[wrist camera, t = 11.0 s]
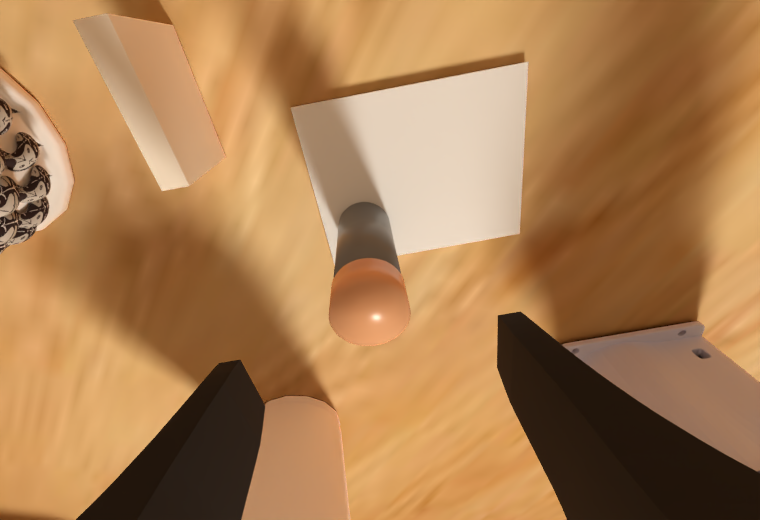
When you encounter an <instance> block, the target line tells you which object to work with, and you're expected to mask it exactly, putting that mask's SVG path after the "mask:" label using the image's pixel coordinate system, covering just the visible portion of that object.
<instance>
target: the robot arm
mask: <svg viewBox="0 0 760 520" xmlns="http://www.w3.org/2000/svg"><path fill="white" fill-rule="evenodd" d="M704 328H705V326H704V325H703V324H702V323H700V322H698V321H694V322H688V323H682V324H676V325H670V326H665V327H659V328H653V329H647V330H641V331H635V332H629V333H623V334H617V335H611V336H605V337H600V338H594V339H588V340H582V341H576V342H570V343H565V344H562V345H561V344H560V343H559V342H557V341H556V340H555V339H554V338H552V337H551V336H550V335H549V334H548V333H546V332H545V331H544V330H543V329H541V328H540V327H539V326H538V325H537V324H535V323H534V322H533V321H532V320H530V319H529V318H528V317H527V316H526V315H524V314H523V313H522V312H516V313H510V314H504V315H498V348H497V368H498V371H499V374H500V376H501V379H502V382H503V385H504V387H505V390H506V393H507V395H508V398H509V400H510V403H511V405H512V407H513V409H514V411H515V413H516V415H517V417H518V419H519V421H520V423H521V425H522V427H523V429H524V431H525V433H526V435H527V437H528V439H529V441H530V443H531V445H532V447H533V449H534V451H535V453H536V455H537V457H538V459H539V461H540V463H541V465H542V467H543V469H544V471H545V473H546V475H547V477H548V479H549V481H550V483H551V485H552V487H553V489H554V491H555V493H556V495H557V497H558V500H559V502H560V504H561V506H562V508H563V511H564V513H565V515H566V518H567V520H760V382H759V381H757V380H756V379H755V378H754V377H752V376H751V375H750V374H749V373H747V372H746V371H745V370H744V369H742V368H741V367H740V366H739V365H737V364H736V363H735V362H734V361H732V360H731V359H730V358H729V357H727V356H726V355H725V354H724V353H722V352H721V351H720V350H719V349H717V348H716V347H715V346H714V345H712V344H711V343H710V342H709V341H707V340H706V339H705V338H704V337H702V333H703V331H704ZM264 413H265V404H264V403H263V401H262V399H261V397H260V395H259V393H258V392H257V390H256V388H255V386H254V384H253V382H252V381H251V379H250V377H249V375H248V373H247V371H246V369H245V368H244V366H243V364H242V362H241V360H236V361H230V362H224V363H219V364H218V365H217V366H216V367H215V368H214V369H213V370H212V372H211V373H210V374H209V375H208V376H207V377H206V378H205V380H204V381H203V382H202V383H201V384H200V385H199V387H198V388H197V389H196V390H195V391H194V392H193V394H192V395H191V396H190V397H189V398H188V400H187V401H186V402H185V403H184V404H183V405H182V407H181V408H180V409H179V410H178V411H177V412H176V413H175V415H174V416H173V417H172V418H171V419H170V420H169V422H168V423H167V424H166V425H165V426H164V427H163V428H162V430H161V431H160V432H159V433H158V434H157V435H156V437H155V438H154V439H153V440H152V441H151V442H150V443H149V444H148V445H147V446H146V447H145V449H144V450H143V451H142V452H141V453H140V454H139V455H138V456H137V457H136V458H135V459H134V460H133V462H132V463H131V464H130V465H129V466H128V467H127V468H126V469H125V470H124V471H123V472H122V473H121V475H120V476H119V477H118V478H117V479H116V480H115V481H114V482H113V483H112V484H111V485H110V486H109V487H108V488H107V489H106V490H105V491H104V492H103V493H102V494H101V495H100V496H99V497H98V498H97V499H96V500H95V501H94V502H93V503H92V504H91V505H90V506H89V507H88V508H87V509H86V510H85V511H84V512H83V513H82V514H81V515H80V516H79V517H78V518H77V519H76V520H241V519H242V515H243V511H244V507H245V503H246V499H247V496H248V492H249V488H250V484H251V480H252V476H253V472H254V468H255V464H256V460H257V456H258V452H259V448H260V443H261V436H262V429H263V422H264Z"/></svg>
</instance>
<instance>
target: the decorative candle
mask: <svg viewBox="0 0 760 520" xmlns="http://www.w3.org/2000/svg"><path fill="white" fill-rule="evenodd" d="M74 182H75V180H74V176H73V171H72V167H71V163H70V159H69V155H68V151H67V147H66V143H65V142H64V140H63V139H62V137H61V136H60V134H59V133H58V131H57V130H56V128H55V127H54V125H53V123H52V122H51V120H50V119H49V117H48V116H47V114H46V113H45V111H44V110H43V108H42V107H41V105H40V104H39V102H38V101H36V100H35V99H34V98H33V97H32V96H31V95H30V94H29V93H28V92H27V91H25V90H24V89H23V88H22V87H21V86H20V85H19V84H18V83H17V82H16V81H14V80H13V79H12V78H11V77H10V76H9V75H8V74H7V73H6V72H4V71H3V70H2V69H1V68H0V254H1V253H2V252H3V251H4V249H5V248H7V247H8V246H10V245H14V244H19V243H21V242H24V241H26V240H28V239H29V238H30V237H31V236H32V235H33V234H34V233H35V231H39V230H42V229H44V228H46V227H47V226H48V225H50V224H51V223H52V222H53V221H54V220H55V219H57V218H58V217H59V216H60V215H61V214H62V213H64V212H65V211H66V210H67V209H68V205H69V201H70V197H71V193H72V189H73V185H74Z"/></svg>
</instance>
